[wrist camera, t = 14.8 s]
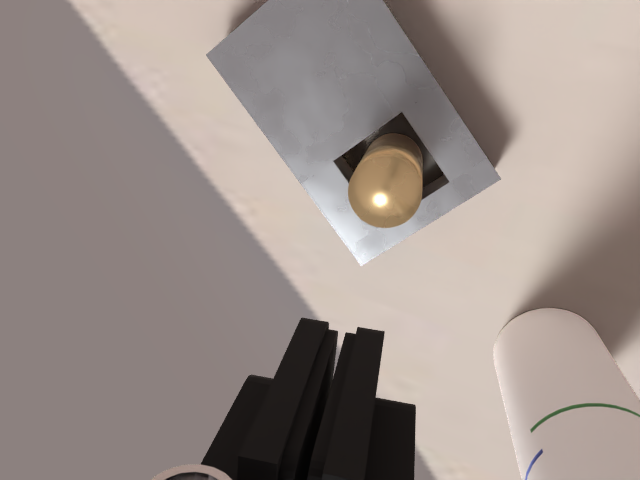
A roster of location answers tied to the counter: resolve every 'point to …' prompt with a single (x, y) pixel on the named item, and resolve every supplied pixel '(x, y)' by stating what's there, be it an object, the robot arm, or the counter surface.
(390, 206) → the tan cylindrical peg
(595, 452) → the cylindrical container
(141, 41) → the counter surface
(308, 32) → the jig plate
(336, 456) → the robot arm
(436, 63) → the counter surface
